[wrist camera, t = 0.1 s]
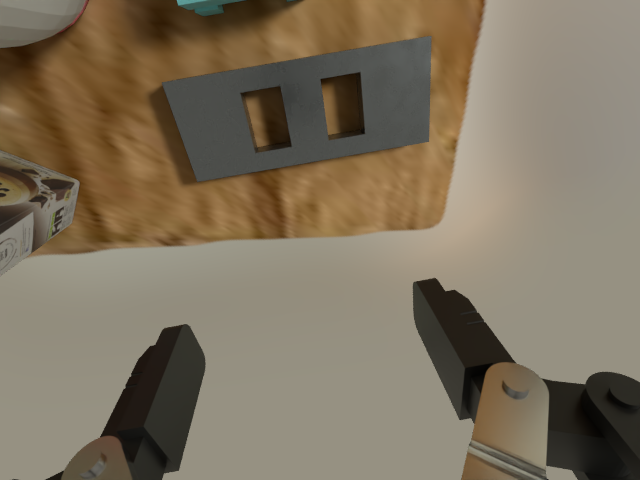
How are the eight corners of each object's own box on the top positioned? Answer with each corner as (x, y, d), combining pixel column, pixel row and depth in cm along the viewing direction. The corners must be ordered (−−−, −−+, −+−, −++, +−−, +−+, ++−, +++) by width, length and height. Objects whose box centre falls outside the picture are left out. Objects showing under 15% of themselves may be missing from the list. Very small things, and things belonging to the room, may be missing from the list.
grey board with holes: (170, 80, 33) (161, 82, 31) (421, 37, 33) (431, 35, 31) (202, 174, 38) (197, 181, 36) (420, 136, 38) (428, 141, 36)
